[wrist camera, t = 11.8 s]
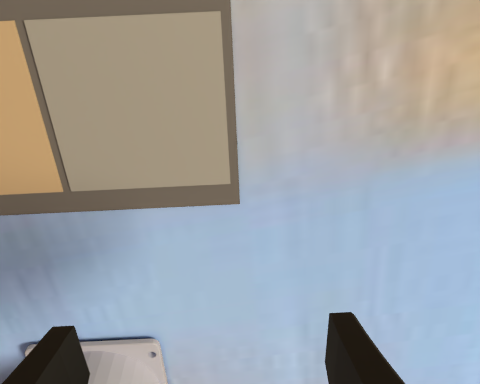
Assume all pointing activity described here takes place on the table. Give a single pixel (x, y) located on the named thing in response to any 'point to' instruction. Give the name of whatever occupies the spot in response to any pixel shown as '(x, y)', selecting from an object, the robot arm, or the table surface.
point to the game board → (116, 105)
